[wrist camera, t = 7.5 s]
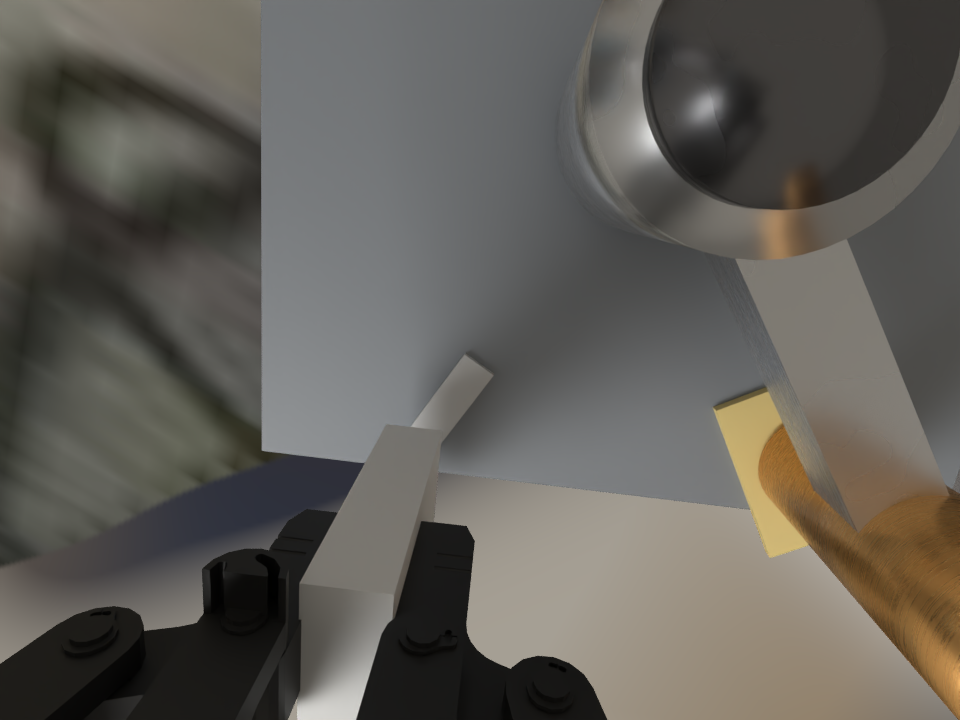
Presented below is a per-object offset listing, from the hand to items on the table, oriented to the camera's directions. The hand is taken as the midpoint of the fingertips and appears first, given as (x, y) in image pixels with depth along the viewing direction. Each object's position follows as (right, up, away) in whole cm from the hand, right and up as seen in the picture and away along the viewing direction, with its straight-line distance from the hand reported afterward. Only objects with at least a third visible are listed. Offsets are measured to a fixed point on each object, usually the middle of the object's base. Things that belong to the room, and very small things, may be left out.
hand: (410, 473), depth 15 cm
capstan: (+8, +5, 0) cm, 10 cm away
